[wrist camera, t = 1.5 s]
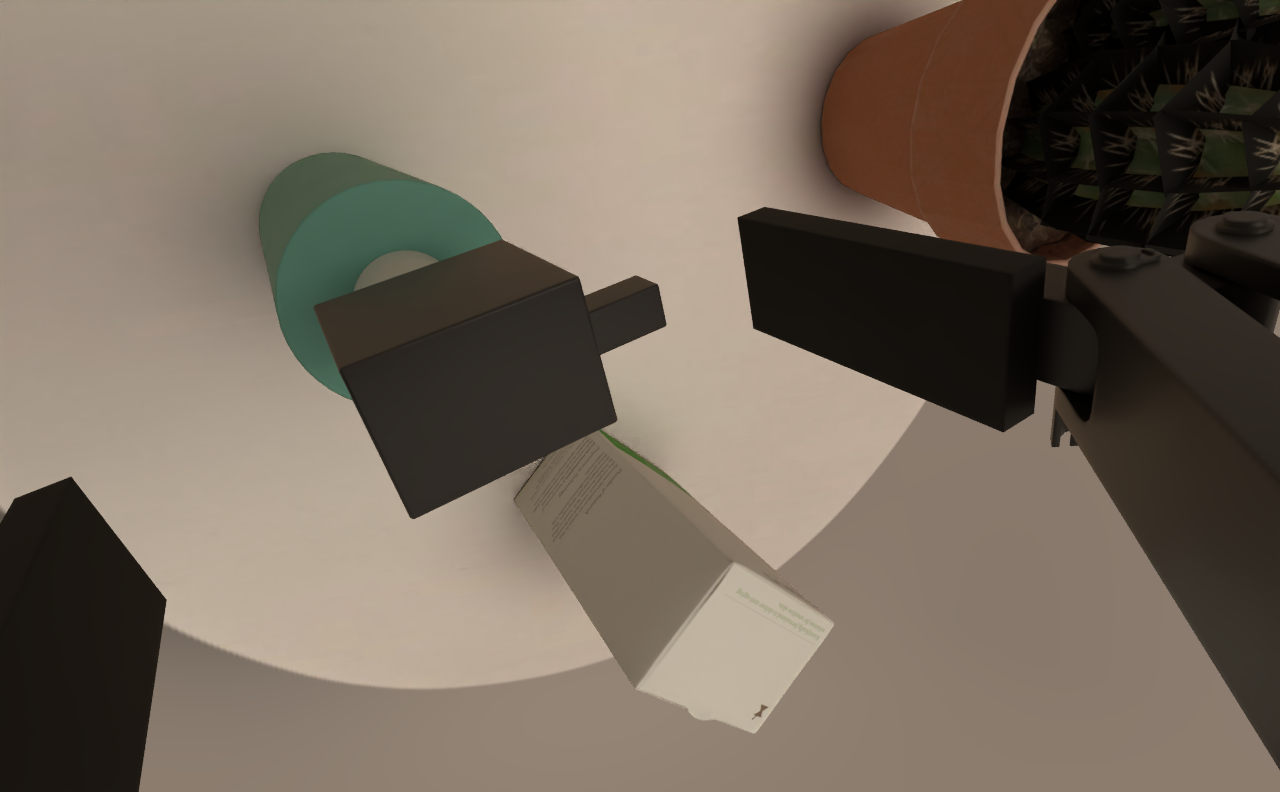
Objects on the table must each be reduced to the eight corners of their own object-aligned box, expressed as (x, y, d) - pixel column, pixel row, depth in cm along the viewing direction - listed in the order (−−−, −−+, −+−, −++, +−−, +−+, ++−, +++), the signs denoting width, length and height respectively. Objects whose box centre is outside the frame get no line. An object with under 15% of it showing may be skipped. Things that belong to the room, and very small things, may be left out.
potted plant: (960, 173, 47) (1516, 222, 26) (814, 268, 43) (1327, 409, 23) (941, -51, 39) (1688, -219, 19) (762, 41, 36) (1448, -46, 16)
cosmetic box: (665, 472, 43) (845, 622, 30) (603, 556, 43) (757, 742, 30) (573, 408, 38) (742, 557, 25) (502, 503, 38) (637, 700, 25)
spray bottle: (301, 325, 30) (392, 610, 13) (228, 178, 26) (220, 299, 10) (461, 268, 32) (710, 443, 15) (411, 128, 29) (654, 155, 12)
